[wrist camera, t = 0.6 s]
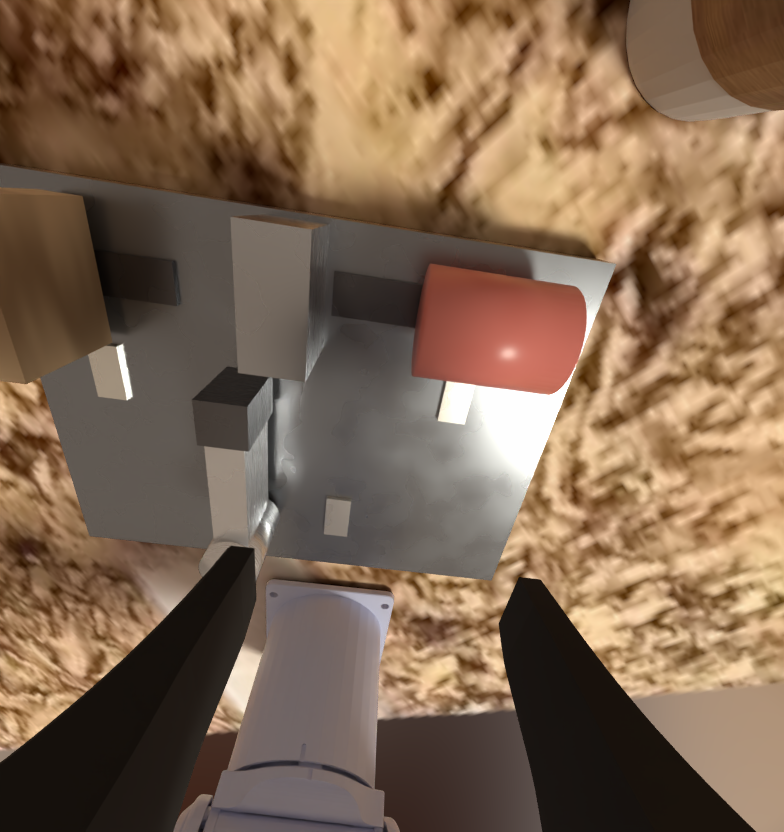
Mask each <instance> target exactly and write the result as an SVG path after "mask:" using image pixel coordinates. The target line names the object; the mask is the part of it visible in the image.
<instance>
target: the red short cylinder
mask: <svg viewBox="0 0 784 832" xmlns="http://www.w3.org/2000/svg"><path fill="white" fill-rule="evenodd" d="M586 324H587V310H586V303H585V299H584V296H583V294H582V292H581V291H580V289H579V288H577V287H575V286H571V285H565V284H558V283H552V282H546V281H539V280H533V279H526V278H520V277H514V276H507V275H501V274H494V273H488V272H482V271H475V270H469V269H462V268H456V267H450V266H443V265H437V264H431V263H430V264H429V266H428V269H427V272H426V275H425V279H424V283H423V287H422V292H421V296H420V302H419V307H418V313H417V319H416V326H415V333H414V340H413V350H412V364H411V372H412V376H413V377H420V378H427V379H435V380H442V381H449V382H456V383H463V384H470V385H478V386H485V387H492V388H499V389H506V390H513V391H521V392H528V393H535V394H542V395H552V394H554V393H556V392H557V391H559V390H560V389H561V388H562V387H563V386H564V385H565V383H566V382H567V381H568V379H569V378H570V376H571V375H572V373H573V371H574V369H575V367H576V364H577V362H578V359H579V357H580V354H581V351H582V347H583V343H584V339H585V333H586Z"/></svg>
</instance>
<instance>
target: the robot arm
mask: <svg viewBox="0 0 784 832" xmlns="http://www.w3.org/2000/svg"><path fill="white" fill-rule="evenodd" d="M255 602H256V575H255V548H249V547H239V546H230V547H228V548H227V549H226V550H225V552H224V553H223V554H222V555H221V556H220V558H219V559H218V560H217V561H216V562H215V564H214V565H213V566H212V567H211V568H210V569H209V571H208V572H207V573H206V574H205V575H204V576H203V578H202V579H201V580H200V581H199V582H198V583H197V584H196V585H195V586H194V588H193V589H192V590H191V591H190V592H189V593H188V594H187V595H186V596H185V597H184V598H183V600H182V601H181V602H180V603H179V604H178V605H177V606H176V607H175V608H174V609H173V610H172V611H171V612H170V613H169V614H168V615H167V616H166V618H165V619H164V620H163V621H162V622H161V623H160V624H159V625H158V626H157V627H156V628H155V629H154V630H153V631H152V632H151V633H150V634H149V635H148V636H147V637H145V638H144V639H143V640H142V641H141V642H140V643H139V644H138V645H137V646H136V647H135V648H134V649H133V650H132V651H131V652H130V653H129V654H128V655H127V656H126V657H125V658H124V659H123V660H122V661H121V662H120V663H119V664H117V665H116V666H115V667H114V668H113V669H112V670H111V671H110V672H109V673H108V674H107V675H105V676H104V677H103V678H102V679H101V680H100V681H99V682H98V683H96V684H95V685H94V686H93V687H92V688H91V689H90V690H88V691H87V692H86V693H85V694H84V695H83V696H82V697H80V698H79V699H78V700H77V701H76V702H75V703H73V704H72V705H71V706H70V707H69V708H68V709H66V710H65V711H64V712H63V713H61V714H60V715H59V716H58V717H57V718H55V719H54V720H53V721H52V722H51V723H49V724H48V725H47V726H46V727H44V728H43V729H42V730H41V731H40V732H38V733H37V734H36V735H35V736H34V737H32V738H31V739H30V740H29V741H27V742H26V743H25V744H24V745H22V746H21V747H20V748H18V749H17V750H16V751H15V752H13V753H12V754H11V755H10V756H8V757H7V758H6V759H4V760H3V761H2V762H0V832H400V831H399V828H398V826H397V824H396V822H395V821H394V820H393V819H392V818H390V817H384V792H383V791H381V790H376V789H374V785H375V760H376V736H377V711H378V686H379V665H380V661H381V657H382V652H383V648H384V643H385V639H386V634H387V630H388V626H389V621H390V617H391V612H392V608H393V603H394V595H393V594H392V593H391V592H388V591H381V590H371V589H362V588H353V587H343V586H334V585H325V584H315V583H306V582H297V581H287V580H278V579H272V580H269V581H268V583H267V585H266V637H267V640H266V643H265V647H264V650H263V653H262V657H261V660H260V663H259V667H258V670H257V673H256V677H255V680H254V683H253V687H252V690H251V693H250V697H249V700H248V703H247V707H246V710H245V713H244V716H243V720H242V723H241V726H240V730H239V733H238V736H237V740H236V743H235V746H234V750H233V753H232V756H231V760H230V763H229V766H228V770H224V771H223V772H222V774H221V777H220V781H219V784H218V787H217V790H216V794H215V797H214V800H213V796H212V795H205V794H204V795H203V794H202V795H200V796H199V797H198V798H197V799H196V801H195V802H194V803H193V804H191V805H190V806H189V807H188V808H187V809H186V810H185V811H183V812H182V814H181V815H180V817H179V819H178V821H177V818H178V815H179V812H180V809H181V806H182V803H183V800H184V796H185V793H186V790H187V787H188V784H189V781H190V778H191V775H192V772H193V769H194V765H195V762H196V760H197V757H198V754H199V751H200V749H201V746H202V743H203V741H204V738H205V735H206V733H207V730H208V728H209V726H210V723H211V721H212V718H213V716H214V713H215V711H216V708H217V706H218V703H219V701H220V699H221V696H222V694H223V691H224V689H225V686H226V684H227V681H228V679H229V676H230V674H231V672H232V669H233V667H234V664H235V662H236V659H237V657H238V654H239V652H240V649H241V647H242V644H243V642H244V639H245V636H246V632H247V629H248V626H249V622H250V619H251V615H252V612H253V609H254V605H255ZM499 629H500V637H501V645H502V652H503V658H504V665H505V669H506V673H507V677H508V681H509V685H510V689H511V693H512V697H513V701H514V705H515V709H516V713H517V716H518V721H519V724H520V728H521V732H522V736H523V740H524V744H525V748H526V751H527V756H528V760H529V764H530V768H531V772H532V776H533V782H534V786H535V791H536V797H537V802H538V808H539V814H540V820H541V826H542V831H543V832H756V831H755V830H754V829H753V828H752V827H751V826H750V825H749V824H747V823H746V822H745V821H744V820H743V819H742V818H741V817H740V816H739V815H738V814H737V813H736V812H735V811H734V810H733V809H732V808H731V807H730V806H729V805H728V804H727V803H726V802H725V801H724V800H723V799H722V798H721V797H720V796H719V795H718V794H717V793H716V792H715V791H714V790H713V789H712V788H711V787H710V786H709V785H708V784H707V783H706V782H705V781H704V779H702V777H701V776H700V775H699V774H698V773H697V772H696V771H695V770H694V769H693V768H692V767H691V766H690V765H689V764H688V763H687V762H686V761H685V760H684V758H683V757H682V756H681V755H680V754H679V753H678V752H677V751H676V750H675V749H674V748H673V746H672V745H671V744H670V743H669V742H668V741H667V740H666V739H665V738H664V737H663V735H662V734H660V732H659V731H658V730H657V729H656V728H655V727H654V725H653V724H652V723H651V722H650V721H649V720H648V719H647V718H646V716H645V715H644V714H643V713H642V712H641V711H640V709H639V708H638V707H637V706H636V704H635V703H634V702H633V701H632V700H631V698H630V697H629V696H628V695H627V694H626V692H625V691H624V690H623V689H622V688H621V686H620V685H619V684H618V683H617V681H616V680H615V679H614V678H613V676H612V675H611V674H610V673H609V671H608V670H607V669H606V667H605V666H604V665H603V664H602V662H601V661H600V660H599V658H598V657H597V656H596V654H595V653H594V652H593V651H592V649H591V648H590V647H589V645H588V644H587V643H586V641H585V640H584V639H583V637H582V636H581V635H580V633H579V632H578V631H577V629H576V628H575V626H574V625H573V624H572V622H571V621H570V620H569V618H568V617H567V615H566V614H565V613H564V611H563V610H562V609H561V607H560V606H559V604H558V603H557V602H556V600H555V599H554V597H553V596H552V595H551V593H550V592H549V591H548V589H547V588H546V586H545V585H544V584H543V582H542V581H541V580H539V579H530V578H521V577H519V578H518V581H517V583H516V585H515V588H514V590H513V592H512V594H511V597H510V599H509V601H508V604H507V606H506V608H505V610H504V613H503V615H502V617H501V620H500V622H499ZM212 801H213V803H212ZM176 822H177V823H176Z"/></svg>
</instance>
